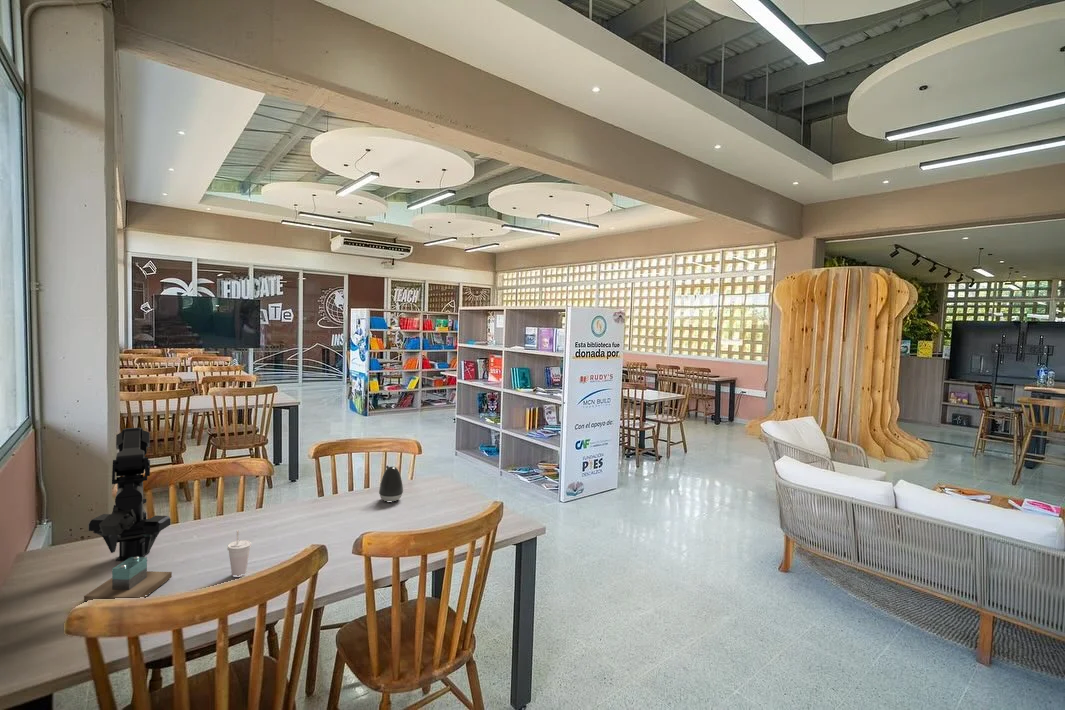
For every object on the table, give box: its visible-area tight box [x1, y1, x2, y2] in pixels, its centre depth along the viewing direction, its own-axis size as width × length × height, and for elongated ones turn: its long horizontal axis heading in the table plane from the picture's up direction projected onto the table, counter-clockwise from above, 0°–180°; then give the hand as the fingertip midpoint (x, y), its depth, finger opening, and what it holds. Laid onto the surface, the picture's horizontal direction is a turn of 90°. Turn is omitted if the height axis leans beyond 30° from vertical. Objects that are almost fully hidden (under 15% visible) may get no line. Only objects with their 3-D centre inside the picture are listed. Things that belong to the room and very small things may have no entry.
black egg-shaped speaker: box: [378, 465, 404, 502], centre depth 226 cm, size 10×10×15 cm
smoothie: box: [226, 530, 252, 578], centre depth 156 cm, size 6×6×14 cm
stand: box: [83, 570, 173, 603], centre depth 145 cm, size 14×14×2 cm
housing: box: [111, 556, 148, 590], centre depth 145 cm, size 7×4×6 cm, turn 3°
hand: (130, 552), depth 145 cm, fingers open, 9 cm apart
